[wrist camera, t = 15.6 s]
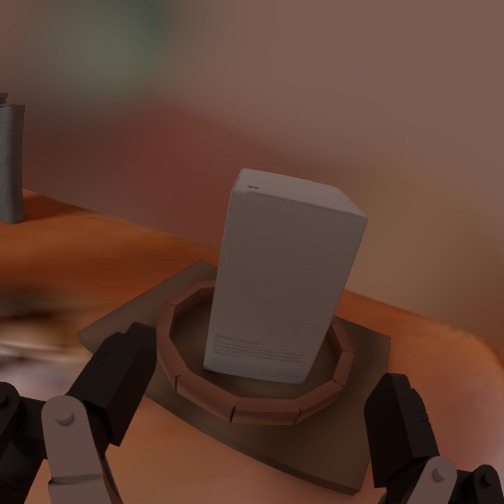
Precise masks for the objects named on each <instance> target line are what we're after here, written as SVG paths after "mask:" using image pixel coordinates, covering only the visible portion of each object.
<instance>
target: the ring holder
mask: <svg viewBox="0 0 504 504" xmlns="http://www.w3.org/2000/svg"><path fill="white" fill-rule="evenodd" d="M217 271H218V267H216V266H214V265H211V264H209V263H207V262H204V261H202V260H200V261H198V262H196V263H195V264H193V265H191V266H189V267H188V268H186V269H184V270H182V271H181V272H179V273H177V274H176V275H174V276H172V277H170V278H169V279H167V280H165V281H163V282H162V283H160V284H158V285H157V286H155V287H153V288H152V289H150V290H148V291H146V292H145V293H143V294H141V295H140V296H138V297H136V298H134V299H133V300H131V301H129V302H128V303H126V304H124V305H123V306H121V307H119V308H118V309H116V310H114V311H113V312H111V313H109V314H108V315H106V316H104V317H102V318H101V319H99V320H97V321H96V322H94V323H92V324H91V325H89V326H88V327H86V328H84V329H83V330H81V331H79V332H78V337H79V341H80V343H81V344H82V345H84V346H85V347H86V348H87V349H88V350H89V351H90V352H92V353H93V354H95V352H97V349H98V348H99V347H100V345H101V344H102V342H103V341H104V340H105V339H106V338H107V337H109V336H111V335H112V334H114V333H115V332H117V331H118V332H121V333H124V334H125V333H126V332H127V330H128V329H129V327H130V326H131V324H132V323H133V322H139V323H142V324H145V325H148V326H152V327H155V328H156V332H157V363H156V368H155V371H154V374H153V376H152V378H151V380H150V382H149V384H148V386H147V389H146V391H145V393H144V394H145V395H146V396H148V397H149V398H151V399H152V400H154V401H155V402H157V403H158V404H159V405H161V406H162V407H164V408H165V409H167V410H168V411H170V412H172V413H173V414H175V415H176V416H178V417H179V418H181V419H183V420H184V421H186V422H187V423H189V424H191V425H192V426H194V427H196V428H197V429H199V430H201V431H203V432H204V433H206V434H208V435H210V436H211V437H213V438H215V439H217V440H219V441H220V442H222V443H224V444H226V445H228V446H230V447H232V448H234V449H236V450H238V451H240V452H242V453H244V454H246V455H248V456H250V457H252V458H254V459H256V460H258V461H260V462H263V463H265V464H267V465H269V466H272V467H274V468H276V469H279V470H281V471H283V472H286V473H288V474H291V475H293V476H296V477H298V478H301V479H304V480H306V481H309V482H312V483H315V484H317V485H320V486H323V487H326V488H329V489H332V490H335V491H339V492H342V493H345V494H349V495H352V496H353V495H354V494H356V493H357V492H359V491H360V490H361V486H362V483H363V480H364V476H365V473H366V469H367V466H368V462H369V458H370V449H369V443H368V436H367V430H366V424H365V418H364V406H365V402H366V400H367V398H368V397H369V395H370V394H371V392H372V391H373V389H374V388H375V387H376V385H377V384H378V382H379V381H380V379H381V378H382V376H383V375H384V374H385V373H387V365H388V358H389V349H390V340H391V337H388V336H386V335H383V334H380V333H378V332H375V331H373V330H370V329H367V328H365V327H362V326H360V325H357V324H355V323H352V322H349V321H347V320H344V319H342V318H339V317H337V316H333V318H332V321H331V323H330V325H329V328H328V330H327V333H326V335H325V337H324V340H323V342H322V344H321V347H320V349H319V351H318V354H317V356H316V358H315V360H314V363H313V365H312V367H311V369H310V371H309V373H308V375H307V377H306V380H305V382H304V383H303V384H290V383H282V382H274V381H266V380H259V379H253V378H247V377H241V376H236V375H230V374H224V373H219V372H214V371H209V370H205V369H204V368H203V364H204V358H205V351H206V344H207V338H208V331H209V324H210V316H211V310H212V303H213V297H214V290H215V284H216V277H217Z"/></svg>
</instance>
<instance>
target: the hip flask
mask: <svg viewBox="0 0 504 504" xmlns="http://www.w3.org/2000/svg"><path fill="white" fill-rule="evenodd" d="M7 97H8V93H0V220H3V221H5V222H6V223H8V224H17V223H20V222H22V221H23V220H24V210H23V194H22V138H23V123H24V111H25V105H19V106H14V105H16V104H6V102H5V98H7ZM5 106H9V107H5Z"/></svg>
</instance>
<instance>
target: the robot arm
mask: <svg viewBox="0 0 504 504" xmlns="http://www.w3.org/2000/svg"><path fill="white" fill-rule="evenodd" d="M156 363H157V332H156V328H155V327H152V326H148V325H145V324H142V323H139V322H133V323H132V324H131V326H130V327H129V329H128V330H127V332H126V333H125V334H124V333H121V332H118V331H117V332H115V333H114V334H112V335H111V336H109V337H107V338H106V339H105V340H104V341H103V342H102V344H101V345H100V347H99V348H98V349H97V352H95V354H94V355H93V356H92V358H91V360H90V361H89V362H88V363H87V365H86V366H85V368H84V369H83V370H82V372H81V373H80V375H79V376H78V378H77V379H76V381H75V382H74V383H73V385H72V386H71V388H70V389H69V391H68V392H67V393H66V394H65V395H60V396H56V397H53V398H51V399H50V400H48V401H40V400H35V399H31V398H26V397H22V396H20V395H19V393H18V391H17V390H16V388H15V387H14V386H13V385H11V384H9V383H7V382H0V504H24V502H25V500H26V497H27V495H28V493H29V490H30V488H31V486H32V483H33V481H34V479H35V477H36V474H37V472H38V470H39V468H40V466H41V463H42V461H43V459H47V460H48V463H49V467H50V472H51V480H50V481H49V482H48V491H49V496H50V499H51V503H52V504H124V503H123V501H122V499H121V497H120V494H119V492H118V489H117V486H116V484H115V481H114V478H113V476H112V473H111V470H110V467H109V464H108V461H107V458H106V455H105V452H106V450H107V447H108V445H109V443H111V444H113V445H115V446H118V447H119V446H120V444H121V442H122V440H123V438H124V435H125V433H126V431H127V429H128V427H129V425H130V422H131V420H132V418H133V416H134V414H135V412H136V410H137V407H138V405H139V403H140V401H141V399H142V397H143V395H144V393H145V391H146V389H147V386H148V384H149V382H150V380H151V378H152V376H153V374H154V371H155V368H156ZM364 418H365V424H366V430H367V436H368V443H369V449H370V456H371V464H372V471H373V479H374V488H383V487H386V490H387V492H386V493H385V494H384V495H383V496H382V498H381V499H380V501H379V502H378V504H504V496H503V492H502V488H501V484H500V480H499V476H498V473H497V471H496V470H495V469H494V468H493V467H492V466H490V465H486V464H485V465H481V466H479V467H478V468H477V469H475V470H474V471H473V472H468V471H462V470H456V468H455V466H454V464H453V463H452V462H451V461H450V460H449V459H447V458H445V457H442V456H440V454H439V451H438V447H437V444H436V441H435V437H434V434H433V431H432V427H431V424H430V422H429V418H428V415H427V413H426V409H425V406H424V403H423V400H422V398H421V397H420V396H419V394H418V393H417V392H416V390H415V389H411V386H410V383H409V381H408V378H407V376H406V375H405V374H394V373H385V374H384V375H383V376H382V378H381V379H380V381H379V382H378V384H377V385H376V387H375V388H374V389H373V391H372V392H371V394H370V395H369V397H368V398H367V400H366V402H365V406H364Z"/></svg>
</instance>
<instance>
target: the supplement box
mask: <svg viewBox="0 0 504 504" xmlns="http://www.w3.org/2000/svg"><path fill="white" fill-rule="evenodd" d="M367 221H368V217H367V216H366V215H365V214H364V213H363V212H362V211H361V210H360V209H359V208H358V207H357V206H356V205H355V204H354V203H353V202H352V201H351V200H350V199H349V198H347V196H345V194H343V193H342V191H341V190H339V189H338V188H336V187H332V186H328V185H325V184H320V183H317V182H312V181H308V180H304V179H299V178H294V177H289V176H285V175H280V174H274V173H269V172H264V171H258V170H252V169H246V168H245V169H242V170H241V173H240V175H239V176H238V178H237V181H236V183H235V185H234V187H233V189H232V190H231V195H230V200H229V206H228V211H227V217H226V223H225V228H224V234H223V240H222V246H221V252H220V258H219V264H218V271H217V277H216V284H215V290H214V297H213V303H212V310H211V316H210V324H209V331H208V338H207V344H206V351H205V358H204V364H203V368H204V369H205V370H209V371H214V372H219V373H224V374H230V375H236V376H241V377H247V378H253V379H259V380H266V381H274V382H282V383H290V384H303V383H304V382H305V380H306V377H307V375H308V373H309V371H310V369H311V367H312V365H313V363H314V360H315V358H316V356H317V354H318V351H319V349H320V347H321V344H322V342H323V340H324V337H325V335H326V333H327V330H328V328H329V325H330V323H331V321H332V318H333V316H334V313H335V311H336V308H337V306H338V303H339V300H340V298H341V295H342V293H343V290H344V287H345V285H346V282H347V279H348V276H349V274H350V270H351V268H352V265H353V262H354V260H355V257H356V254H357V251H358V248H359V245H360V242H361V239H362V236H363V233H364V230H365V227H366V224H367Z"/></svg>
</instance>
